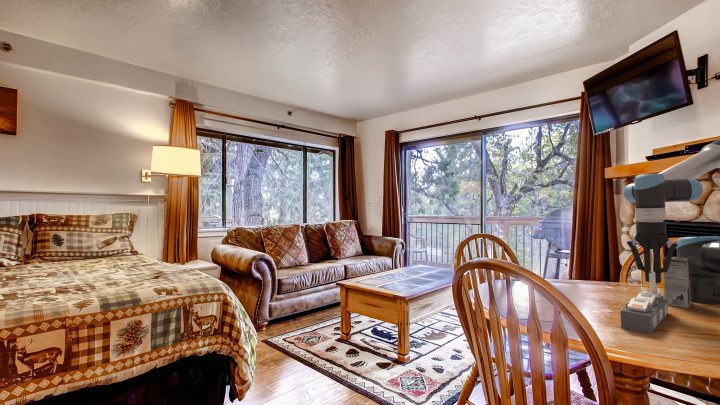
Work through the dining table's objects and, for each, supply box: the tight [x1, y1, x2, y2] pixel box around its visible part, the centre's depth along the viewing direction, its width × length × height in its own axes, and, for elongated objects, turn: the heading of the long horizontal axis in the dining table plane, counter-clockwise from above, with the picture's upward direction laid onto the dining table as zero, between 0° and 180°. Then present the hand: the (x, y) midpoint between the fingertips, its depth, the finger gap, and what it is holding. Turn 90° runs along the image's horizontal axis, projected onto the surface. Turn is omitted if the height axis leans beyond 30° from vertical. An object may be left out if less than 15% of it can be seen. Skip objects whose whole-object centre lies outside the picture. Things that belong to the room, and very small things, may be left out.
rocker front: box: [627, 297, 650, 312], centre depth 96 cm, size 6×4×1 cm, turn 130°
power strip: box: [620, 295, 669, 335], centre depth 101 cm, size 27×7×6 cm, turn 130°
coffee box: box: [662, 256, 692, 309], centre depth 118 cm, size 9×6×16 cm
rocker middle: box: [635, 292, 656, 306], centre depth 101 cm, size 6×4×1 cm, turn 130°
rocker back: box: [640, 290, 662, 298], centre depth 107 cm, size 6×4×1 cm, turn 130°
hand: (653, 292), depth 110 cm, fingers closed
